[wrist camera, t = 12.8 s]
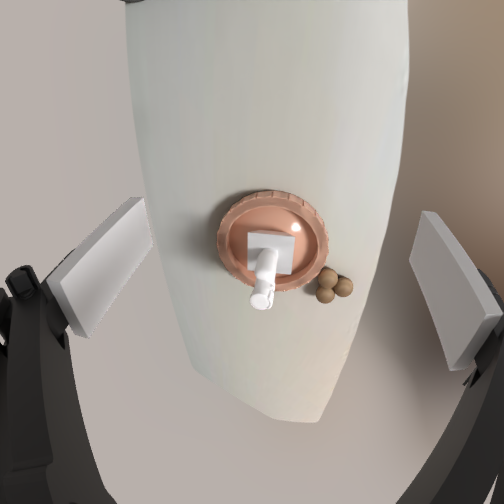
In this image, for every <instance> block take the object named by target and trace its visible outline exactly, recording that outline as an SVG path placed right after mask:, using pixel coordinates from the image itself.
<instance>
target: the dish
mask: <svg viewBox="0 0 504 504" xmlns="http://www.w3.org/2000/svg"><path fill="white" fill-rule="evenodd" d="M257 230H268V231H278V232H287V233H289V234H291V235H293V236H295V243H294V253H293V262H292V270H291V275H289V274H279V273H276V275H275V282H274V283H275V291H283V292H284V290H285V291H288V290H291V289H297V287H298V288H299V287H300V286H302V285H304V284H307V283H308V282H310V281H311V280H312V279H313V278H314V277H316V276H317V275H318V274H319V272H320V270H321V269H322V267H323V266H324V265H325V263H326V257H327V255H328V253H329V252H328V251H329V249H328V233H327V230H326V229H325V226H324V221H323V219H322V218H321V217H320V216H319V214H318V213H317V211H316V210H315V209H314V208H313V207H312V206H311V205H310V204H309V203H307V202H306V201H304V200H303V199H301V198H299V197H297V196H295V195H293V194H290V193H286V192H282V191H261V192H256V193H253V194H250V195H248V196H245V197H244V198H242V199H241V200H239V201H238V202H237V203H235V204H233V206H231V208H230V210H229V211H228V212H227V213H226V214H225V215H224V217H223V219H222V221H221V224H220V228H219V230H218V232H217V244H216V245H217V249H218V251H219V257H220V259H221V260H222V262H223V263H224V266H225V268H226V267H227V268H226V269H227V270H228V271H229V272H231V274H232V275H233V276H234V277H236V279H238V280H240V281H242V282H243V283H244V284H247V285H248V286H251V287H255V282H256V276H255V274H254V271H250V270H247V266H248V232H252V231H257ZM275 291H274V292H275Z"/></svg>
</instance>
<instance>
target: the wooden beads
mask: <svg viewBox="0 0 504 504" xmlns="http://www.w3.org/2000/svg"><path fill="white" fill-rule="evenodd" d="M318 282H319V284H320V285H321V286H319V287H318V288H317V290H316V297H317V299H318V301H319V302H321V303H325V304H326V303H330V302H331V301H332V300H333V299H334V297H335V293H336V294H337V295H338V296H340V297H347V296H349V295H350V294H351V293H352V291H353V283H352V281H351V280H350V279H348V278H346V277H342V278H339V279H338V275H337V273H336V272H335V271H334V270H333V269H330V268H326V269H323V270H322V271H321V272H320V273H319V275H318ZM333 287H334V288H333Z"/></svg>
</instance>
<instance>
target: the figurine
mask: <svg viewBox="0 0 504 504" xmlns="http://www.w3.org/2000/svg"><path fill="white" fill-rule="evenodd" d="M294 243H295V236H293V235H291V234H289V233H287V232H278V231H268V230H257V231H252V232H248V266H247V270H250V271H254V274H255V276H256V282H255V287H254V290H253V292H252V294H251V297H250V300H249V301H250V304H251V305H252V306H253V307H254V308H255V309H258V310H264V309H269V308H271V306H272V303H273V297H274V291H275V283H274V282H275V275H276V273H279V274H289V275H291V270H292V262H293V253H294Z"/></svg>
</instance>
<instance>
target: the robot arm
mask: <svg viewBox="0 0 504 504" xmlns="http://www.w3.org/2000/svg"><path fill="white" fill-rule="evenodd" d="M121 1H125V2H138V1H143V0H121ZM152 247H153V240H152V236H151V231H150V228H149V222H148V217H147V213H146V208H145V203H144V198H143V197H131V198H129V199H128V200H127V201H126V202H125V203H124V204H123V205H121V206H120V207H119V208H118V209H117V210H116V211H115V212H113V213H112V214H111V215H110V216H109V217H108V218H107V219H106V220H105V221H104V222H103V223H101V224H100V225H99V226H98V227H97V228H96V229H95V230H94V231H93V232H92V233H91V234H90V235H89V236H88V237H87V238H86V239H85V240H84V241H83V242H82V243H81V244H80V245H79V246H78V247H77V248H76V249H74V250H72V251H71V252H70V253H69V254H68V255H67V256H66V257H65V258H64V260H62V261H61V262H60V263H59V265H58V266H57V267H56V268H54V270H53V271H52V272H51V273H50V274H49V275H48V276H47V277H46V278H45V279H44V280H43V282H42V283H41V284H40V283H39V281H38V279H37V277H36V274H35V272H34V270H33V268H32V267H31V266H30V265H25V266H21V267H19V268H17V269H15V270H14V271H13V272H11V273H10V274H9V275H8V277H7V278H6V280H5V282H6V284H7V286H8V288H9V290H10V292H11V294H12V295H13V297H8V295H7V294H6V292H5V290H4V289H3V288H0V334H1V336H2V337H3V339H4V340H5V342H4V345H2V344H1V343H0V504H117V503H116V502H115V500H114V499H113V498H112V497H111V495H109V493H108V492H107V490H106V489H105V487H104V485H103V482H102V480H101V477H100V474H99V471H98V468H97V465H96V462H95V459H94V457H93V453H92V450H91V447H90V443H89V440H88V437H87V433H86V429H85V425H84V422H83V417H82V413H81V409H80V405H79V400H78V395H77V390H76V385H75V380H74V374H73V368H72V362H71V355H70V347H69V339H68V335H67V333H66V331H65V329H66V328H67V326H68V325H70V327H71V329H72V330H73V332H74V334H75V335H78V336H81V337H85V338H88V339H89V338H90V336H91V335H92V333H93V332H94V330H95V328H96V327H97V325H98V324H99V322H100V321H101V319H102V318H103V316H104V315H105V313H106V312H107V310H108V309H109V307H110V306H111V304H112V303H113V301H114V300H115V298H116V297H117V295H118V294H119V292H120V291H121V289H122V288H123V287H124V285H125V284H126V282H127V281H128V280H129V278H130V277H131V275H132V274H133V272H134V271H135V270H136V268H137V267H138V265H139V264H140V263H141V261H142V260H143V259H144V257H145V256H146V255H147V253H148V252H149V251H150V249H151V248H152ZM409 262H410V264H411V266H412V269H413V271H414V273H415V276H416V278H417V280H418V283H419V285H420V287H421V290H422V292H423V295H424V297H425V300H426V302H427V305H428V307H429V310H430V313H431V315H432V318H433V321H434V323H435V326H436V329H437V332H438V335H439V338H440V340H441V344H442V347H443V350H444V353H445V356H446V360H447V363H448V366H449V370H450V371H453V370H463V369H467V367H468V366H469V365H470V363H471V362H472V360H473V359H475V362H476V365H477V367H476V368H475V369H474V371H473V372H472V373H471V375H470V376H469V377H468V378H467V380H466V381H465V382H464V383H463V385H464V386H465V385H466V384H467V382H468V384H467V386H466V389H465V391H464V393H463V395H462V397H461V400H460V402H459V404H458V406H457V408H456V410H455V412H454V414H453V416H452V418H451V420H450V422H449V423H448V425H447V427H446V429H445V431H444V433H443V434H442V436H441V438H440V440H439V441H438V443H437V445H436V446H435V448H434V450H433V451H432V453H431V455H430V456H429V458H428V459H427V461H426V463H425V464H424V465H423V467H422V469H421V470H420V472H419V473H418V474H417V476H416V477H415V479H414V480H413V481H412V483H411V484H410V486H409V487H408V489H407V490H406V491H405V492H404V494H403V495H402V496H401V497H400V499H399V500H398V501H397V503H396V504H483V503H484V501H485V500H486V498H487V495H488V494H489V492H490V490H491V488H492V485H493V483H494V481H495V479H496V477H497V475H498V477H497V481H496V485H495V488H494V492H493V495H492V498H491V502H490V504H504V303H503V301H502V300H501V297H500V296H499V295H498V293H497V291H496V289H495V288H493V284H492V283H491V281H490V279H489V278H488V277H487V276H486V275H485V274H484V273H483V272H482V271H481V270H480V269H476V267H475V266H474V264H473V263H472V261H471V260H470V258H469V257H468V255H467V254H466V252H465V251H464V249H463V248H462V246H461V245H460V244H459V242H458V241H457V239H456V238H455V237H454V235H453V234H452V233H451V231H450V230H449V229H448V227H447V226H446V225H445V223H444V222H443V221H442V219H441V218H440V217H439V216H438V214H437V213H436V212H429V211H422V214H421V218H420V222H419V226H418V230H417V233H416V237H415V241H414V245H413V248H412V252H411V255H410V258H409Z"/></svg>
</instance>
